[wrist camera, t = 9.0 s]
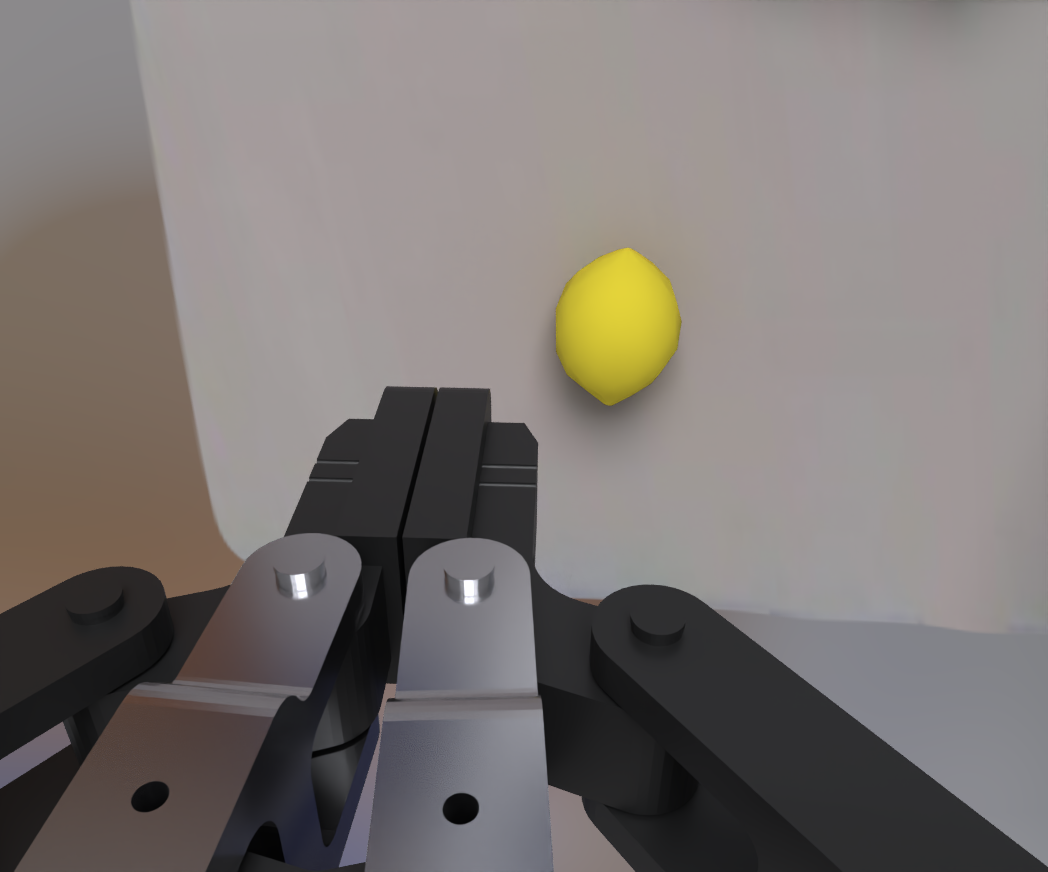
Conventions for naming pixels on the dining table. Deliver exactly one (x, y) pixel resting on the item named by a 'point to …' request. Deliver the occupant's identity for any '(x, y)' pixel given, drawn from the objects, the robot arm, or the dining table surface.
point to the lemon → (617, 325)
